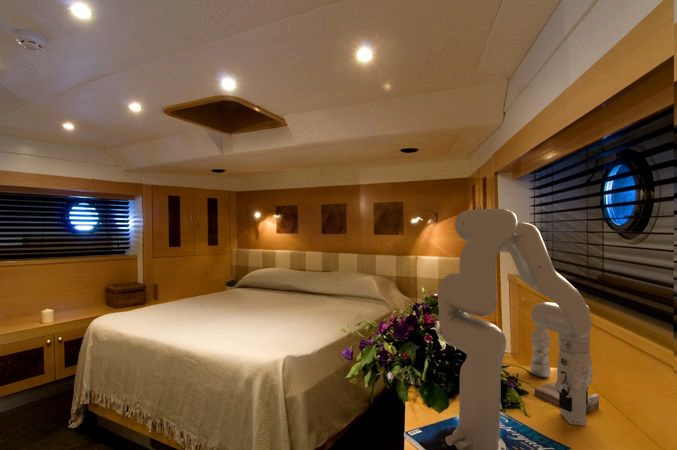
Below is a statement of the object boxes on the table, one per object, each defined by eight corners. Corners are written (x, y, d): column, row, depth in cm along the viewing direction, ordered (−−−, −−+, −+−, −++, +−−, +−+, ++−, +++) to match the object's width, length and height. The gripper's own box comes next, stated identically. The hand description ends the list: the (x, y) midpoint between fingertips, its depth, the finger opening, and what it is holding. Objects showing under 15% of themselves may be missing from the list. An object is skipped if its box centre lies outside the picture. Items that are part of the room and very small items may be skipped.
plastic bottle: (532, 378, 125) (533, 324, 125) (528, 370, 131) (529, 319, 131) (552, 380, 123) (553, 325, 123) (547, 373, 129) (548, 321, 129)
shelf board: (582, 416, 100) (582, 402, 100) (534, 394, 112) (534, 382, 112) (599, 408, 104) (600, 395, 104) (552, 388, 117) (552, 376, 117)
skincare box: (586, 426, 95) (587, 383, 95) (569, 424, 95) (570, 382, 95) (575, 414, 101) (575, 374, 101) (559, 412, 101) (560, 372, 101)
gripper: (570, 355, 91) (570, 421, 91) (604, 344, 99) (604, 404, 99) (542, 346, 97) (542, 407, 97) (576, 336, 105) (576, 393, 105)
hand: (573, 405), depth 98 cm, fingers open, 7 cm apart
